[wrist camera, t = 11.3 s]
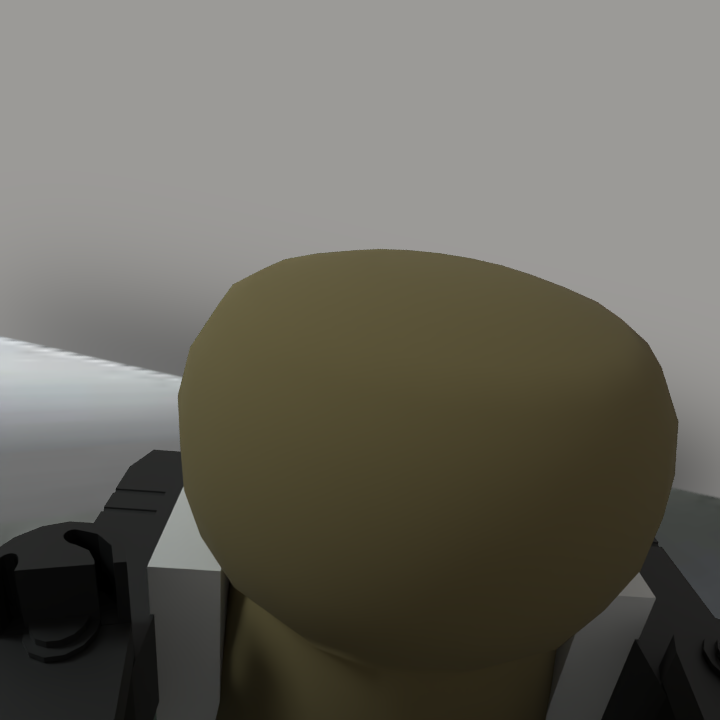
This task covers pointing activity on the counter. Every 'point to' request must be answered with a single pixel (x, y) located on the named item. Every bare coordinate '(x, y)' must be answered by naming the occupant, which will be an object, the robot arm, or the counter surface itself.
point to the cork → (416, 482)
